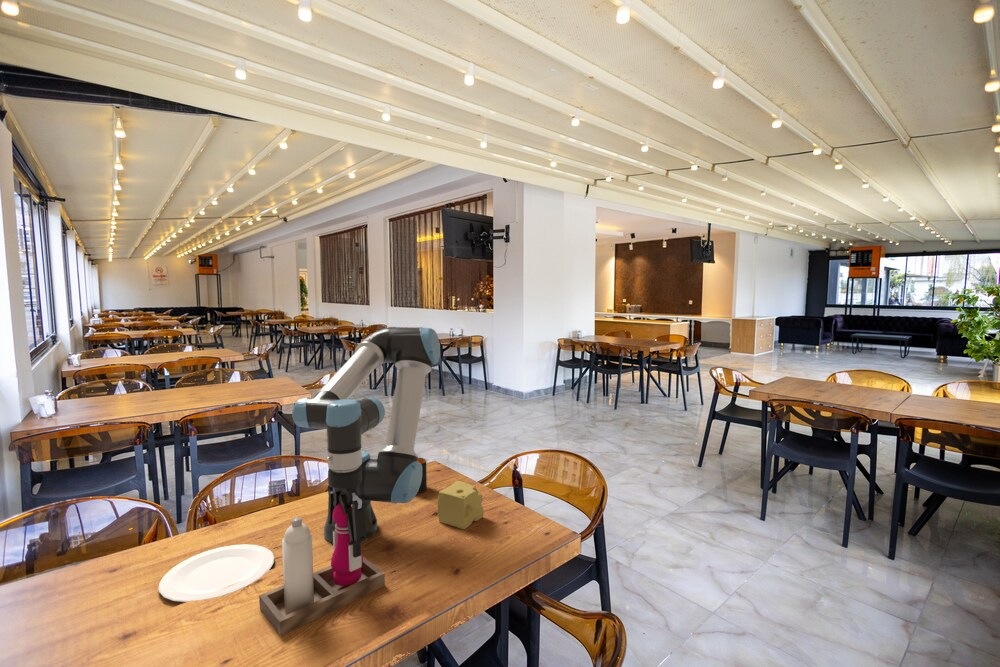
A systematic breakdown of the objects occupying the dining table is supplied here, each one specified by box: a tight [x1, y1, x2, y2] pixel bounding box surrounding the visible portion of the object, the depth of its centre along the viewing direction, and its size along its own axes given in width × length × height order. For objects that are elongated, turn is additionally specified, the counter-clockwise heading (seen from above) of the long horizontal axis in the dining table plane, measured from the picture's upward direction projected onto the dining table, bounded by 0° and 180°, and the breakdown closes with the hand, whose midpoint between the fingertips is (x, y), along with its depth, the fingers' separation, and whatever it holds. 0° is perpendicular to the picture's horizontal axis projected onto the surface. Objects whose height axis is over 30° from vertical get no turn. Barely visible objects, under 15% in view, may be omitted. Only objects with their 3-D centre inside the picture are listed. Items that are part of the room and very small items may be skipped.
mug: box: [416, 457, 428, 495], centre depth 170 cm, size 8×12×10 cm
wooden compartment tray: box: [258, 556, 386, 637], centre depth 109 cm, size 24×12×4 cm, turn 135°
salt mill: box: [281, 517, 314, 615], centre depth 104 cm, size 6×6×20 cm
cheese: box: [437, 480, 485, 530], centre depth 149 cm, size 10×11×10 cm
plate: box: [158, 543, 275, 603], centre depth 120 cm, size 25×25×2 cm
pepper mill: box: [330, 504, 364, 586], centre depth 112 cm, size 7×7×20 cm
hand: (347, 561), depth 112 cm, fingers closed on pepper mill, 7 cm apart
